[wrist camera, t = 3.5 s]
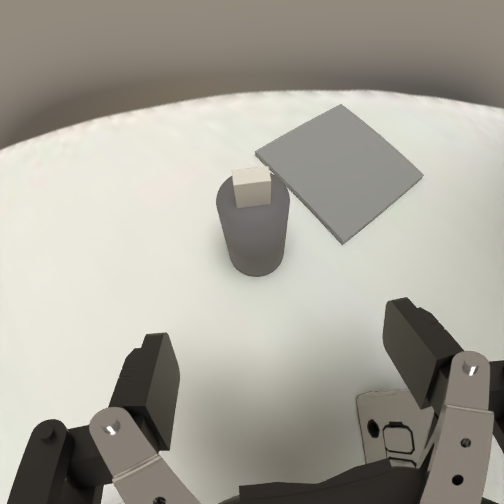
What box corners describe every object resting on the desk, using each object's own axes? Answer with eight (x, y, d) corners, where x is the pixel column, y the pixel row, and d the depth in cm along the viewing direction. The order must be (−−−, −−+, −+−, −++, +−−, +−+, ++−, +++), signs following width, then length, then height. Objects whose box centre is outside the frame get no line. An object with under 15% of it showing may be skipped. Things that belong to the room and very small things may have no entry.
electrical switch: (353, 394, 22) (416, 393, 13) (409, 376, 23) (484, 363, 14) (368, 498, 18) (429, 537, 10) (423, 476, 19) (494, 497, 10)
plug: (278, 223, 28) (284, 141, 18) (287, 272, 26) (299, 205, 16) (227, 230, 28) (208, 150, 18) (232, 280, 26) (213, 216, 16)
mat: (340, 107, 33) (341, 104, 32) (421, 178, 29) (423, 175, 28) (255, 155, 31) (255, 151, 30) (342, 244, 27) (344, 241, 26)
